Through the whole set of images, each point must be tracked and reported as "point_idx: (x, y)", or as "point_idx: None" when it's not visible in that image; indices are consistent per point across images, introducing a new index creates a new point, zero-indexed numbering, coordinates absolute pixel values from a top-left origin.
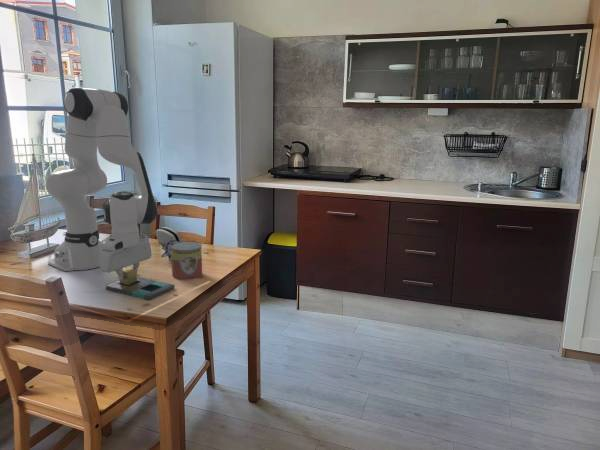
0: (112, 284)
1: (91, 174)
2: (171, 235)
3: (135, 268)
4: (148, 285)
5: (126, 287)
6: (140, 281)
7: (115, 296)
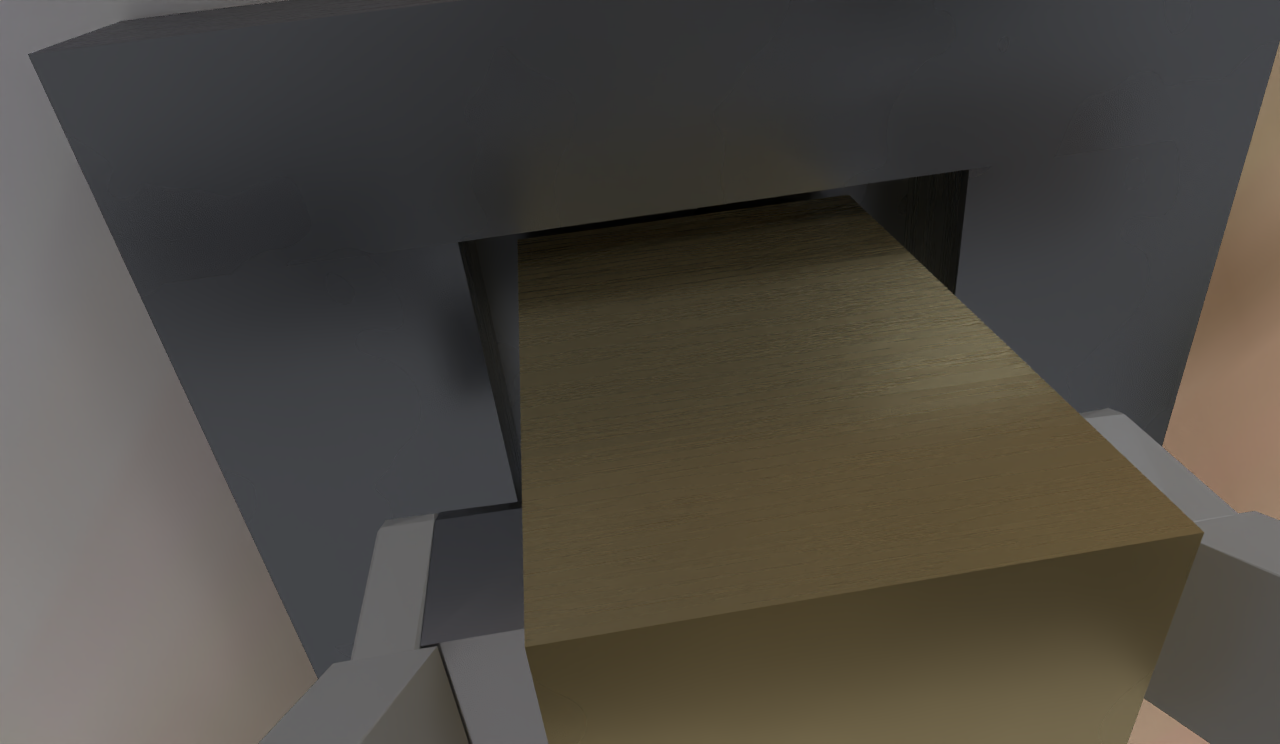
0: (289, 162)
1: None
2: None
3: (1208, 693)
4: None
5: None
6: None
7: (181, 515)
